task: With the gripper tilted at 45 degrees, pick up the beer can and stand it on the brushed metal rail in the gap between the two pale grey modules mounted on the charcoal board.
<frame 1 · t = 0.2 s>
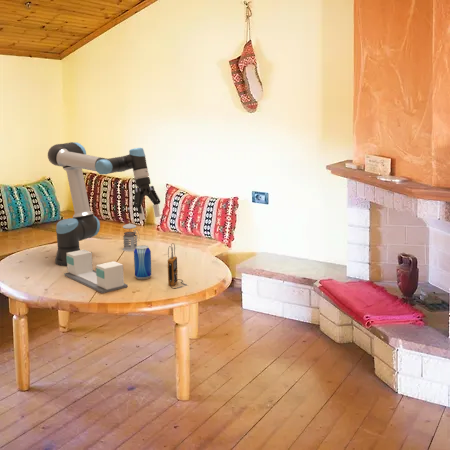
hand: (150, 218, 335), 28 cm above the table, tool tilted 15°, fingers open, 13 cm apart
rail board: (95, 281, 324), on the table
beer can: (143, 277, 329), on the table
multimeter: (180, 284, 318), on the table
french press: (131, 249, 383), on the table
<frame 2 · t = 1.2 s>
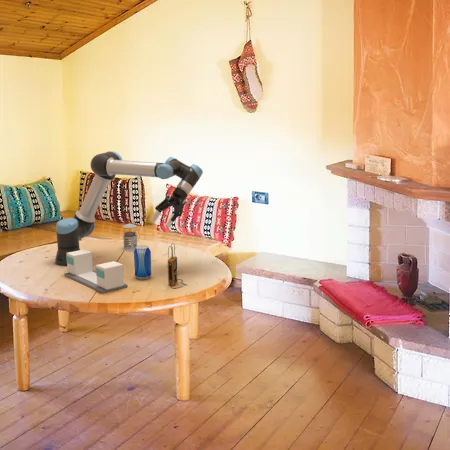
hand: (159, 223, 330), 26 cm above the table, tool tilted 45°, fingers open, 13 cm apart
nothing on the table moved.
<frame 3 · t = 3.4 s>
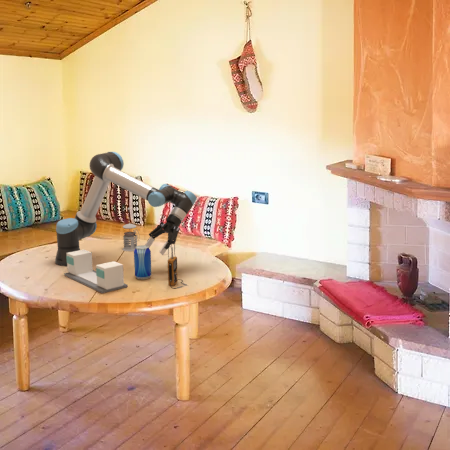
hand: (153, 251, 329), 13 cm above the table, tool tilted 45°, fingers open, 13 cm apart
nothing on the table moved.
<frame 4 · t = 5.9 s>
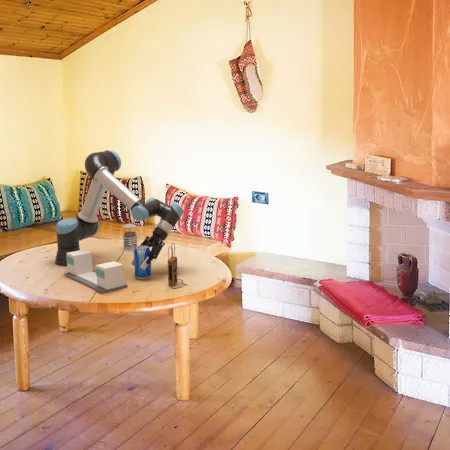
hand: (137, 266, 326), 6 cm above the table, tool tilted 45°, fingers closed on beer can, 8 cm apart
beer can: (143, 277, 329), on the table, touching gripper
everything else where it was.
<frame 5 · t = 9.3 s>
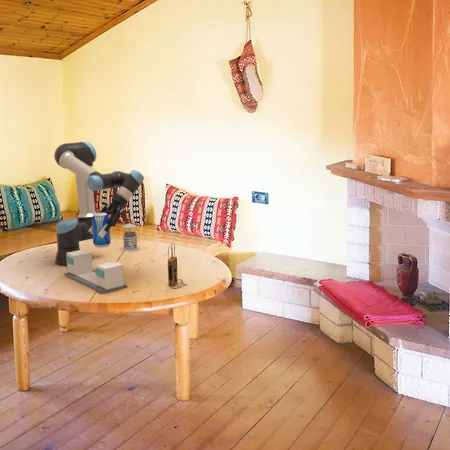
hand: (95, 234, 316), 24 cm above the table, tool tilted 45°, fingers closed on beer can, 8 cm apart
beer can: (102, 246, 320), point 18 cm above the table, touching gripper
everything else where it was.
when the fingers open (9 cm above the table, at t = 13.1 s): beer can drops 1 cm, resting on rail board.
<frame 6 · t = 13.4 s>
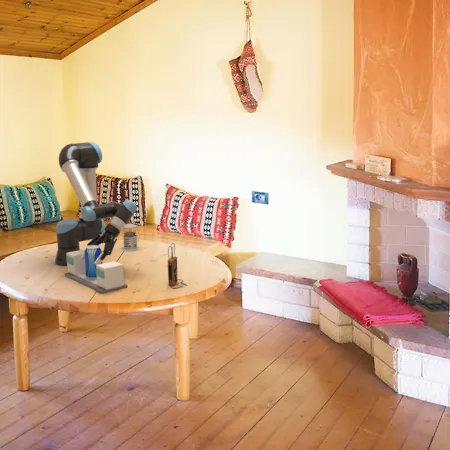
hand: (89, 262, 320), 10 cm above the table, tool tilted 45°, fingers open, 12 cm apart
beer can: (94, 278, 324), point 2 cm above the table, touching rail board
everything else where it was.
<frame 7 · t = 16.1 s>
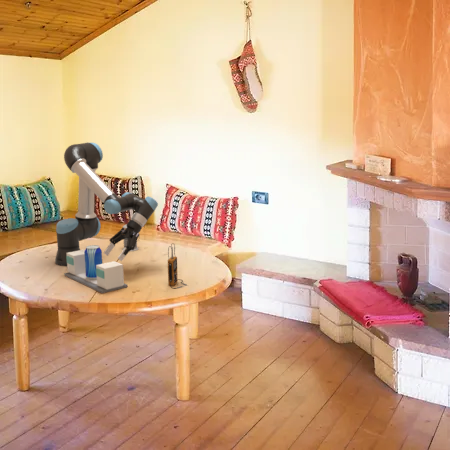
hand: (112, 256, 328), 10 cm above the table, tool tilted 45°, fingers open, 13 cm apart
nothing on the table moved.
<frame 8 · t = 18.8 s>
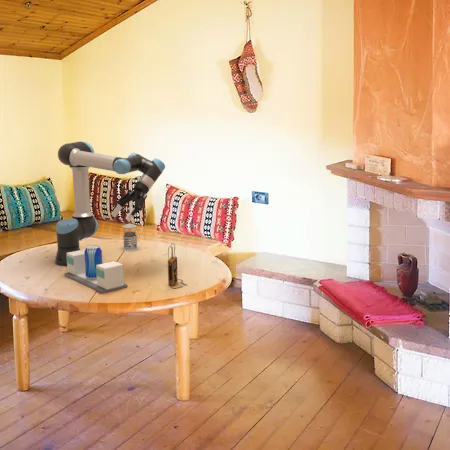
hand: (120, 218, 328), 30 cm above the table, tool tilted 45°, fingers open, 13 cm apart
nothing on the table moved.
at the end: beer can 0.3 cm off-centre on the rail board, point 1.5 cm above the rail board's base; beer can tilted 0°; the gripper is holding nothing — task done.
